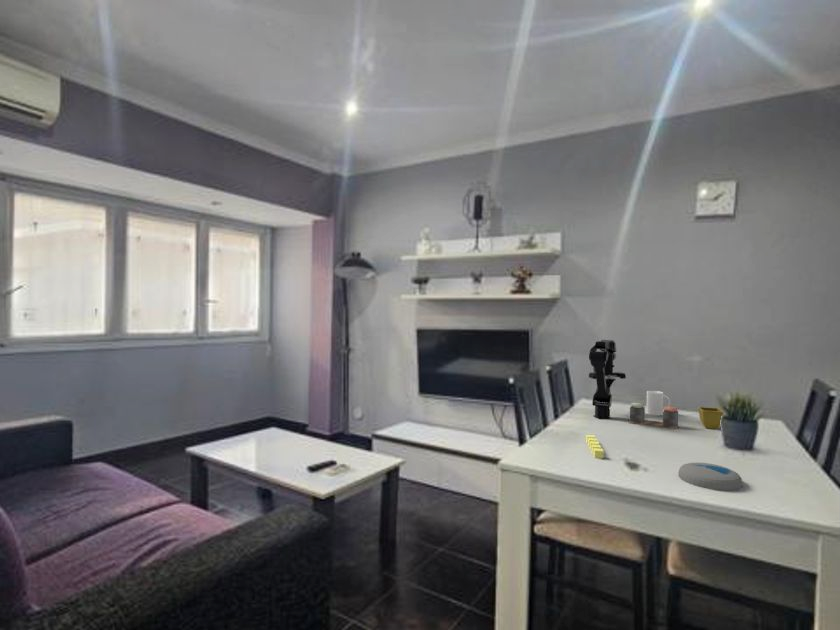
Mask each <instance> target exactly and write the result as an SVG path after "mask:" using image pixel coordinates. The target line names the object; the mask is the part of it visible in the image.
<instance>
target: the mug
mask: <svg viewBox="0 0 840 630" xmlns="http://www.w3.org/2000/svg"><path fill="white" fill-rule="evenodd" d="M664 398H666V399H668V405H667V406H670V405H671V400H670V398H669V397H668V396H667V395H666V394H664V392H663V391H658V390H647V391H646V410H645V414H647V415H650V416H657V417H658V416H660V415H661V416H663V411H664V407H665V406H664Z"/></svg>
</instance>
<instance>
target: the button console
mask: <svg viewBox="0 0 840 630" xmlns="http://www.w3.org/2000/svg"><path fill="white" fill-rule="evenodd" d="M645 409H646V408H645V406H644V408H634V407H631V406H630V407H629V421H628V424H632V425H641V426H647V427H648V426H649V427H657V428H663V429H671V430H678V428H679V427H678V426H679V410H677V412H668V411H665V410H663V415H662V421H660V420H659V421H658V420H651V419H646V417H645V414H646V410H645Z"/></svg>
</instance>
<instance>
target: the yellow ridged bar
mask: <svg viewBox="0 0 840 630" xmlns="http://www.w3.org/2000/svg"><path fill="white" fill-rule="evenodd" d="M585 438H586V439H585V441H586V444H587V446H588V448H589V451H591V454H592V456H593V455H594V456H593V458H594V457H595V458H594V459H601V458H605V457H604V453H605V452H604V449H603V448H602V446H601V444H600V443H599V441H598V439H597V438H596V436H595V435H592V434H586V436H585Z"/></svg>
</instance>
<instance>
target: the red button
mask: <svg viewBox="0 0 840 630" xmlns="http://www.w3.org/2000/svg"><path fill="white" fill-rule="evenodd" d="M663 407H664V410H665V411H668V412H677V411H678V407H676V406H670V405H669V406H668V405H667V406H666V405H665V406H663ZM664 410H663V411H664Z"/></svg>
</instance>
